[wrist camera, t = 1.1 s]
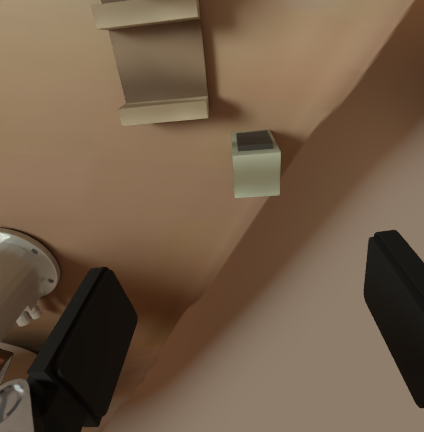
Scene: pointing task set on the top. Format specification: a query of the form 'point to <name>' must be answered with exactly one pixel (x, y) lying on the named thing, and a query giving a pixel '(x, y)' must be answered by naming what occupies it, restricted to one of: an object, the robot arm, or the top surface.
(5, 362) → the tin
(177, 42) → the rail board
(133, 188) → the top surface
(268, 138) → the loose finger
